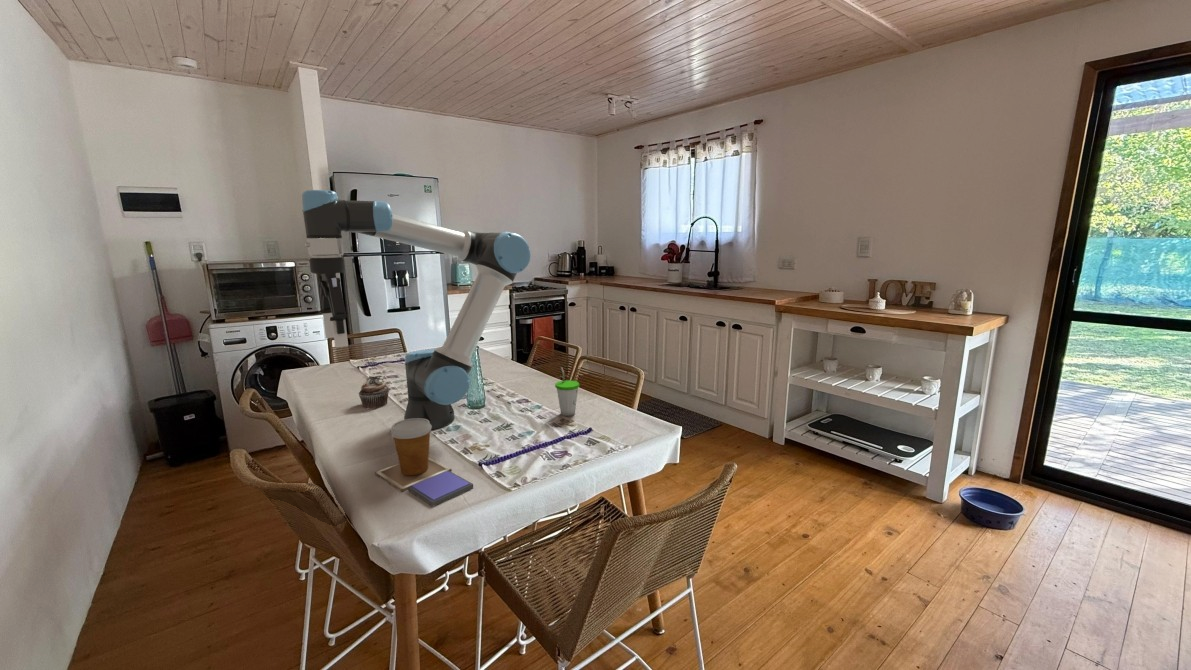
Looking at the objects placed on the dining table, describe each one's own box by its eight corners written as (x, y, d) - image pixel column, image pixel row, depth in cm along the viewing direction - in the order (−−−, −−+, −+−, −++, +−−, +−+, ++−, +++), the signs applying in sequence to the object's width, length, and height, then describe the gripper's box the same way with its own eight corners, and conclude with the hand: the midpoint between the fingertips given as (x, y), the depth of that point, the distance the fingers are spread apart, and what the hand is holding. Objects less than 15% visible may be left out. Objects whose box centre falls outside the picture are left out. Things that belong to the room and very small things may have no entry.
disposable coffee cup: (441, 462, 125) (438, 418, 123) (423, 479, 116) (419, 431, 114) (407, 461, 127) (403, 416, 125) (386, 477, 117) (381, 430, 115)
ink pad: (448, 474, 120) (448, 469, 120) (473, 487, 114) (473, 483, 114) (408, 490, 113) (408, 485, 113) (433, 506, 106) (432, 501, 106)
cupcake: (360, 402, 173) (357, 375, 171) (389, 398, 177) (387, 372, 175) (359, 411, 164) (356, 382, 162) (390, 406, 168) (388, 379, 166)
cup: (579, 418, 157) (578, 373, 154) (554, 418, 157) (553, 373, 154) (580, 409, 164) (579, 366, 161) (557, 409, 164) (556, 366, 161)
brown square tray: (423, 455, 130) (423, 453, 130) (451, 471, 122) (451, 468, 122) (375, 474, 121) (374, 471, 121) (401, 491, 112) (401, 489, 112)
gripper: (302, 255, 126) (312, 335, 130) (316, 258, 106) (328, 353, 111) (334, 254, 130) (343, 332, 135) (354, 257, 111) (363, 348, 115)
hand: (336, 342), depth 123 cm, fingers open, 13 cm apart
